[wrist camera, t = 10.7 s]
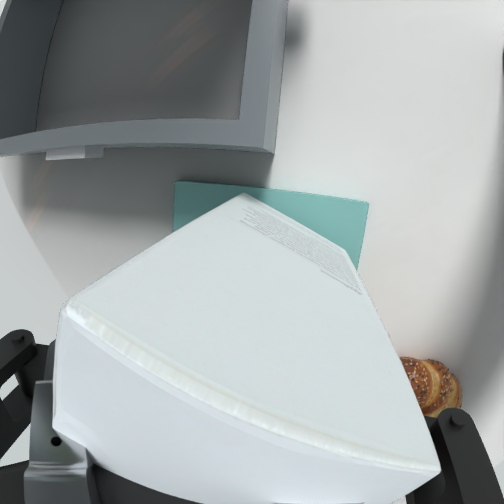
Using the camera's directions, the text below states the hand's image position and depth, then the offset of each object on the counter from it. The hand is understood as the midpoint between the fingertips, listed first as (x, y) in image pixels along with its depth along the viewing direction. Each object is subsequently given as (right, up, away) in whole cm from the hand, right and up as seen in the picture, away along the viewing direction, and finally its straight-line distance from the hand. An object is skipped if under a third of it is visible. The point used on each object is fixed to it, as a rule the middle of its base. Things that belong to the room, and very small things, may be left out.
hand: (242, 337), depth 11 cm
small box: (+1, +2, +6) cm, 6 cm away
